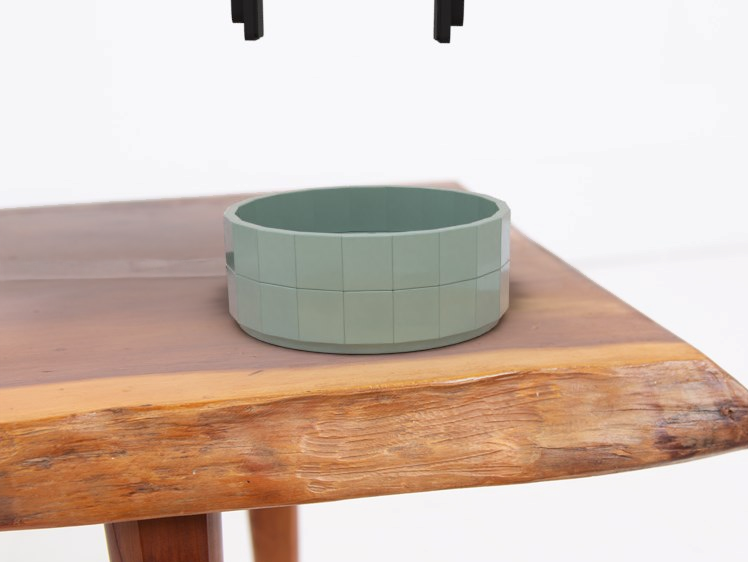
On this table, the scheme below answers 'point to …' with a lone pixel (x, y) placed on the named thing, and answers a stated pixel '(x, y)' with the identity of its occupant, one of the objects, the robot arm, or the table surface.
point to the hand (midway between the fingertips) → (348, 40)
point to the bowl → (368, 267)
